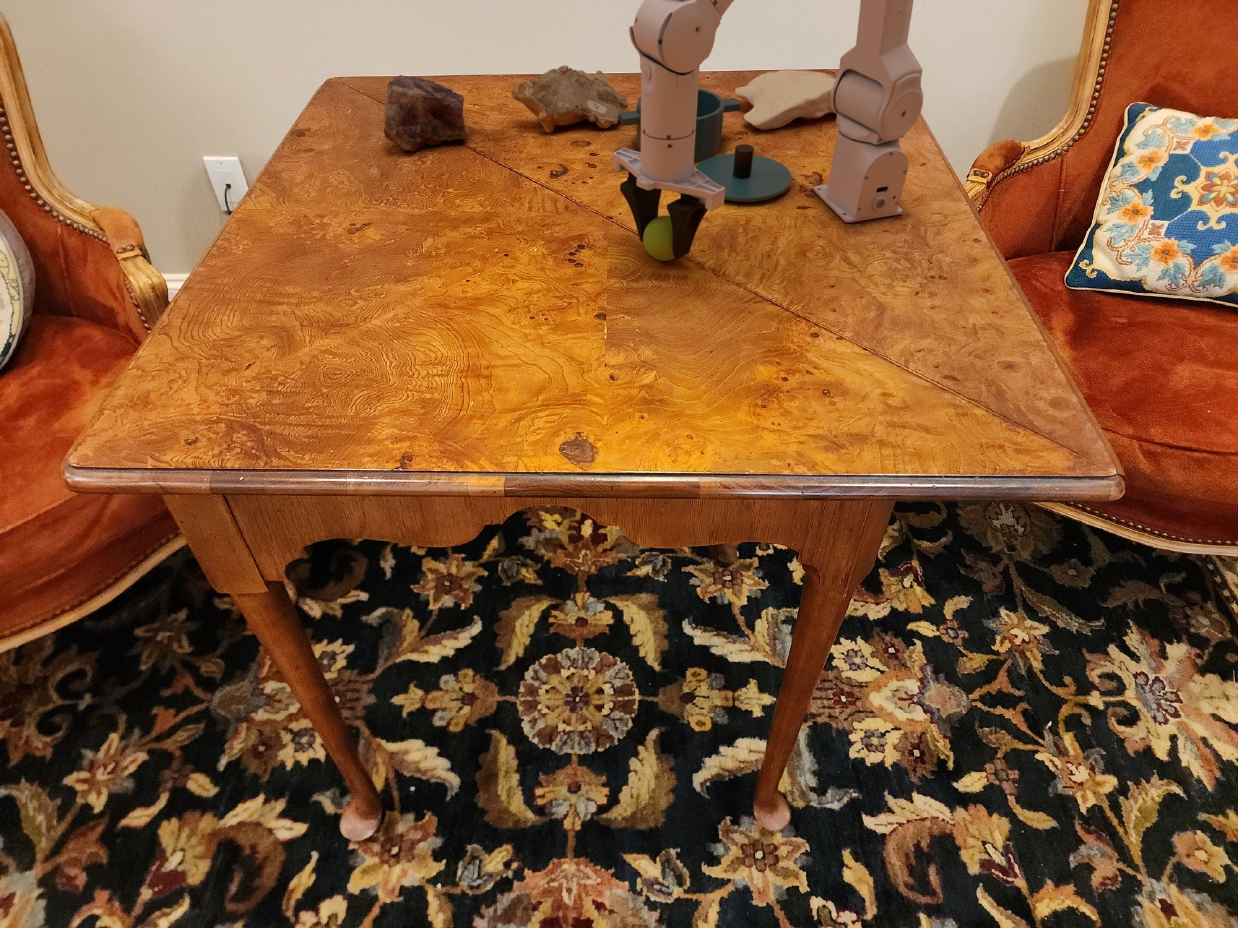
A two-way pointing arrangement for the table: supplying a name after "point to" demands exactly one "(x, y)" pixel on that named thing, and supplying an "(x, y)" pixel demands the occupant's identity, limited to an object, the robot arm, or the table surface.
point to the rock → (422, 113)
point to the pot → (706, 122)
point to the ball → (659, 238)
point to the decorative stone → (786, 97)
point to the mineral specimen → (571, 98)
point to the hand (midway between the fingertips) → (664, 246)
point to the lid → (747, 175)
